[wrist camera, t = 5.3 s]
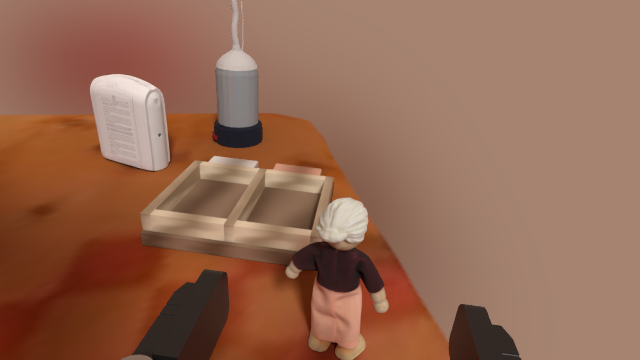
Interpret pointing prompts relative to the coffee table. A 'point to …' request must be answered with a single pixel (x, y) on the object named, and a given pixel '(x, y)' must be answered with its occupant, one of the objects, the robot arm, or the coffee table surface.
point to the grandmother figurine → (339, 279)
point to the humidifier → (237, 95)
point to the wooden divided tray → (239, 210)
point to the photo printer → (131, 121)
